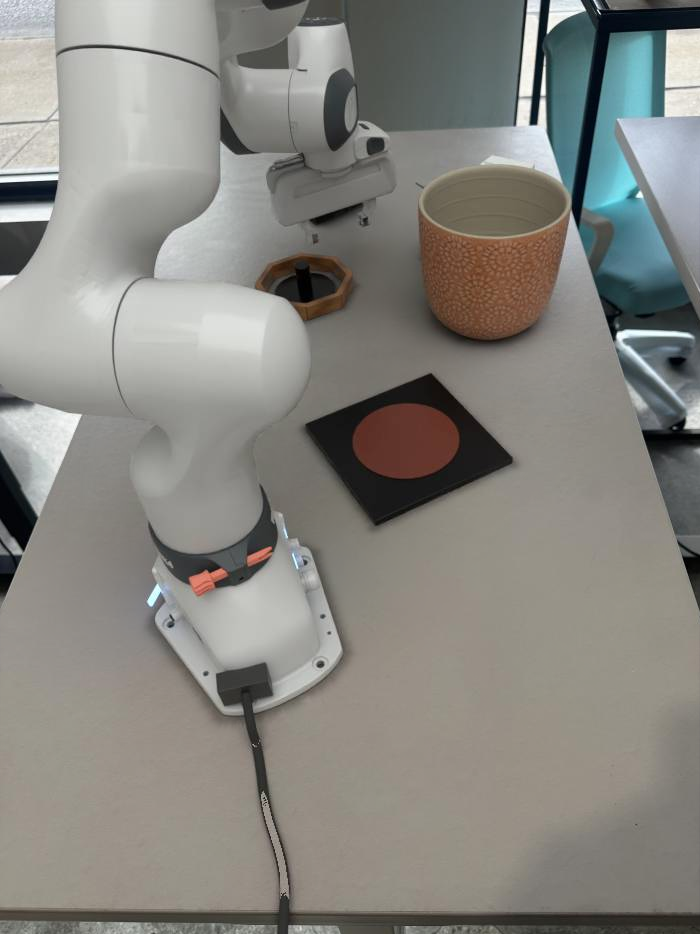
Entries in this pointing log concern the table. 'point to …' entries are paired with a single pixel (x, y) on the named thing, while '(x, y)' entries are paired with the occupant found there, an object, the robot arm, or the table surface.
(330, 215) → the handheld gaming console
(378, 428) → the hob plate
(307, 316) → the hoop
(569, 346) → the table surface
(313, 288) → the peg stand
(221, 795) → the table surface
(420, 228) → the planter
